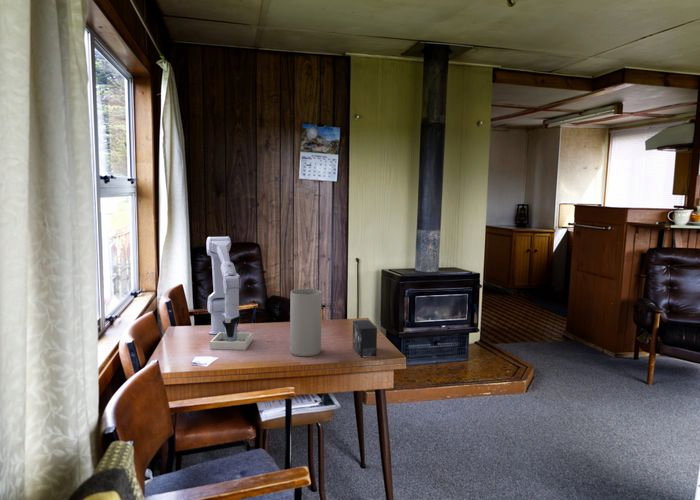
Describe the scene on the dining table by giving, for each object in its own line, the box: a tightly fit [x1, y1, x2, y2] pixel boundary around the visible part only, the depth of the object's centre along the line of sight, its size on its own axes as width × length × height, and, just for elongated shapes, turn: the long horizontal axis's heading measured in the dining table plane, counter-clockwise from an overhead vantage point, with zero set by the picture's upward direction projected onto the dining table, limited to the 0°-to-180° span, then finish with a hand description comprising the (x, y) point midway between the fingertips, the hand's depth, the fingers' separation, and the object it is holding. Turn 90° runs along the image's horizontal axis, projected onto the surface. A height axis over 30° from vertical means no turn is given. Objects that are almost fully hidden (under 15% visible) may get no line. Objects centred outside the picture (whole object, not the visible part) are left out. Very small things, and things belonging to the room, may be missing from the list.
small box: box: [352, 319, 378, 358], centre depth 203 cm, size 13×7×12 cm, turn 15°
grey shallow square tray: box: [209, 332, 254, 351], centre depth 210 cm, size 15×15×3 cm
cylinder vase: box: [289, 288, 323, 357], centre depth 201 cm, size 12×12×25 cm
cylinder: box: [224, 323, 239, 342], centre depth 210 cm, size 5×5×7 cm
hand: (231, 335), depth 210 cm, fingers closed on cylinder, 5 cm apart
